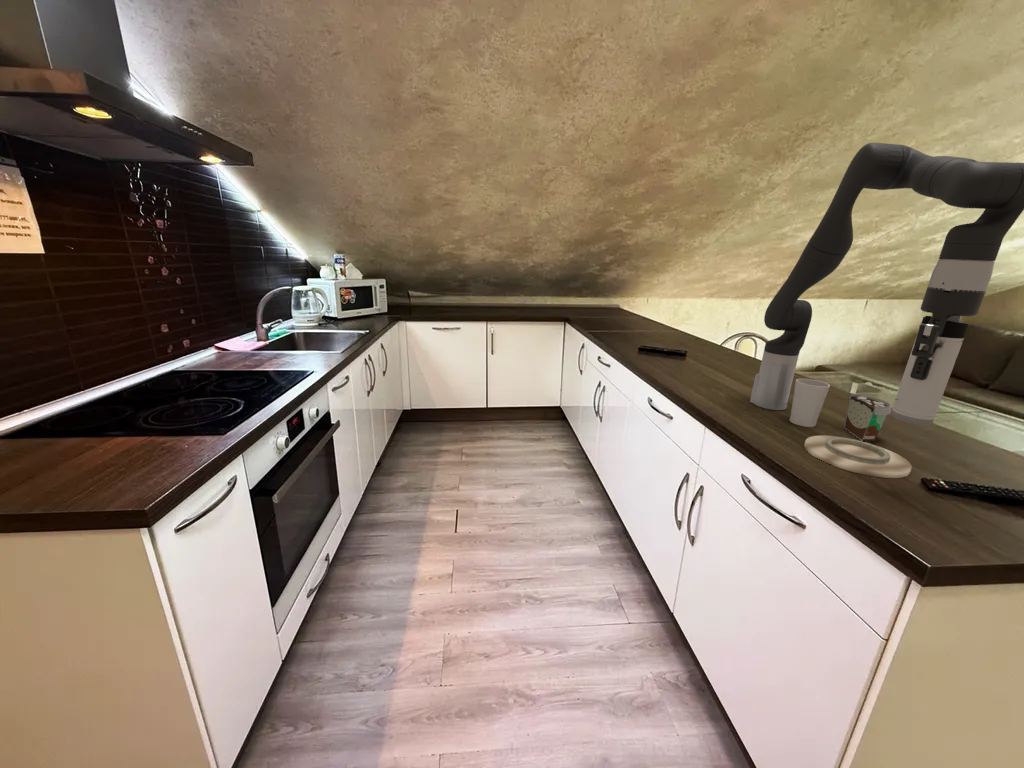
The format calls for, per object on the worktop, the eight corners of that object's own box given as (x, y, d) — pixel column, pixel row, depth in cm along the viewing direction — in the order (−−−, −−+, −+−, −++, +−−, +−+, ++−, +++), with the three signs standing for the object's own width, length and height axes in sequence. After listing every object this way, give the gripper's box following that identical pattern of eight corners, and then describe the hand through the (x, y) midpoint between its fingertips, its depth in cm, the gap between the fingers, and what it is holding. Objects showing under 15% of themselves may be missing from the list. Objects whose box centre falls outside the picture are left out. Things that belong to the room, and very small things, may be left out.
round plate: (787, 448, 106) (790, 439, 105) (828, 434, 116) (830, 426, 115) (887, 486, 89) (891, 475, 89) (924, 466, 99) (928, 456, 99)
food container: (892, 446, 110) (905, 409, 107) (865, 443, 111) (876, 407, 108) (865, 428, 121) (875, 394, 118) (840, 426, 122) (850, 392, 119)
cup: (821, 423, 124) (832, 383, 120) (816, 430, 118) (827, 388, 115) (789, 415, 129) (799, 377, 126) (783, 422, 123) (793, 381, 120)
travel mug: (880, 412, 87) (912, 313, 81) (910, 413, 88) (944, 314, 82) (909, 425, 81) (947, 319, 75) (941, 425, 82) (981, 320, 76)
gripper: (943, 284, 83) (914, 368, 89) (913, 285, 76) (884, 375, 82) (998, 288, 77) (964, 378, 83) (971, 289, 70) (936, 387, 75)
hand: (924, 376), depth 82 cm, fingers closed on travel mug, 6 cm apart
